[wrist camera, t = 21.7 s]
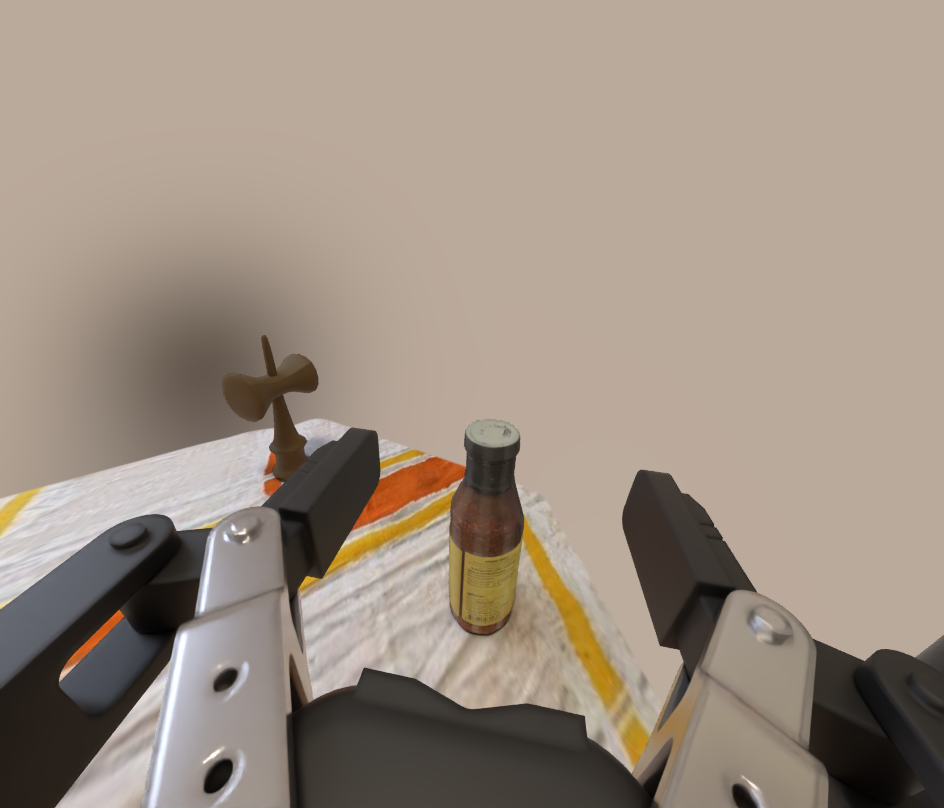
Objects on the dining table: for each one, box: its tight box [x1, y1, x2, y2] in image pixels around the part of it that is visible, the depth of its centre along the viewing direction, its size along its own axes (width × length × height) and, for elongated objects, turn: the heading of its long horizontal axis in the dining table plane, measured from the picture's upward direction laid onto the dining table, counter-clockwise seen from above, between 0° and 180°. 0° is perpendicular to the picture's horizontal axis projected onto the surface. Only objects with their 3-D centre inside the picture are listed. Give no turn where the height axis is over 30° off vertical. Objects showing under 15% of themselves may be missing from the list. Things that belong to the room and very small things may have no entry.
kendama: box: [222, 335, 318, 480], centre depth 44 cm, size 6×10×20 cm, turn 158°
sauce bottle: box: [449, 419, 524, 634], centre depth 29 cm, size 7×6×20 cm
